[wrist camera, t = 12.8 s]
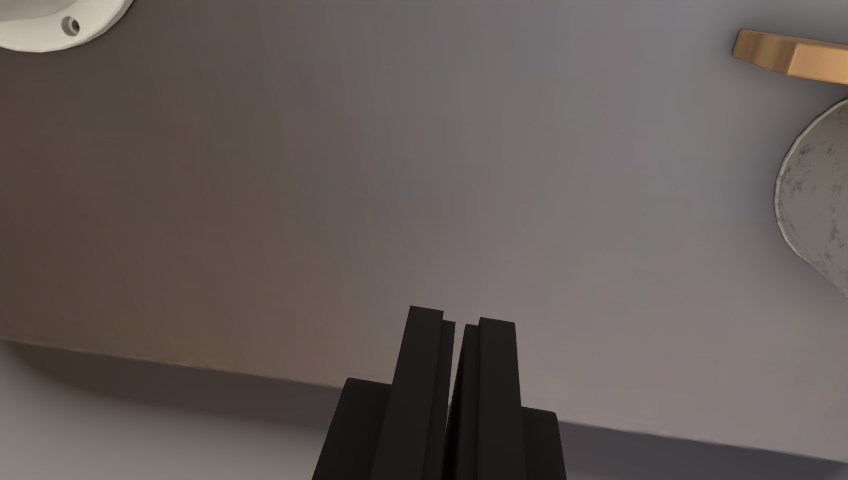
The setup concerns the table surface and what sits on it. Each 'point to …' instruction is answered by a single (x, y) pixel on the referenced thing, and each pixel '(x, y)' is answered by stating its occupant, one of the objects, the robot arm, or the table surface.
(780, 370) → the table surface
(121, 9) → the robot arm
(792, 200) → the grey speckled cylinder
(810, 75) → the corner stop
